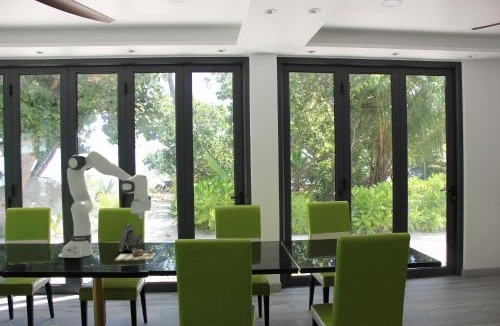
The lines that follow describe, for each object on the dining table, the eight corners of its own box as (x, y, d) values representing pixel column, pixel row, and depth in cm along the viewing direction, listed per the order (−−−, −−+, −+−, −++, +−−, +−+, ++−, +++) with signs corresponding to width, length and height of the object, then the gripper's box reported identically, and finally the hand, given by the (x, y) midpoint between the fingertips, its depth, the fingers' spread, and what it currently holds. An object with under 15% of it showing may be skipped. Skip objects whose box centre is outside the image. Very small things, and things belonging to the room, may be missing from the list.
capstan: (132, 256, 257) (132, 251, 257) (132, 254, 264) (132, 248, 264) (152, 255, 260) (152, 249, 260) (152, 252, 267) (152, 247, 267)
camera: (136, 258, 272) (143, 231, 272) (116, 251, 276) (122, 225, 275) (144, 254, 283) (150, 229, 282) (124, 248, 286) (130, 222, 286)
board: (115, 260, 252) (115, 258, 252) (120, 255, 265) (120, 253, 265) (152, 259, 254) (152, 257, 254) (155, 254, 268) (155, 252, 268)
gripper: (136, 199, 247) (136, 221, 247) (152, 197, 266) (152, 216, 266) (128, 199, 248) (128, 220, 248) (144, 196, 268) (144, 216, 268)
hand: (141, 218), depth 258 cm, fingers closed
